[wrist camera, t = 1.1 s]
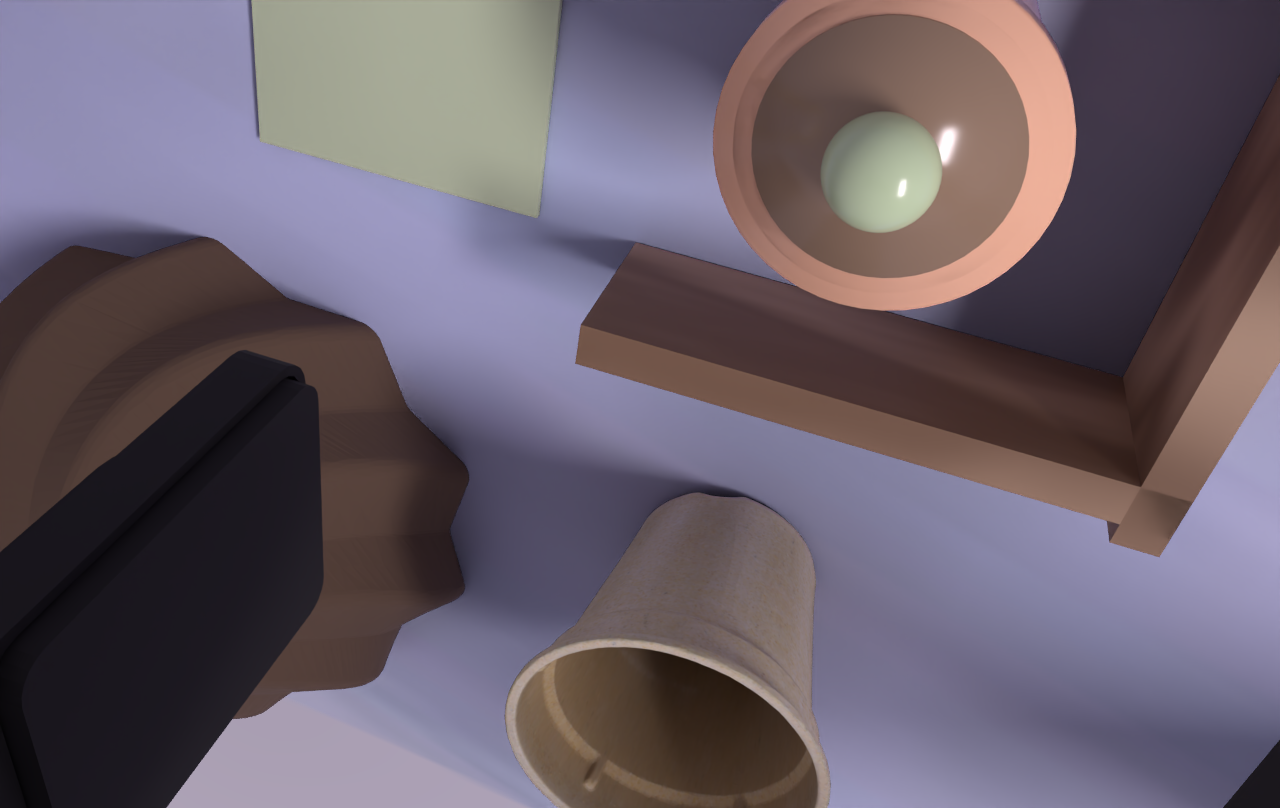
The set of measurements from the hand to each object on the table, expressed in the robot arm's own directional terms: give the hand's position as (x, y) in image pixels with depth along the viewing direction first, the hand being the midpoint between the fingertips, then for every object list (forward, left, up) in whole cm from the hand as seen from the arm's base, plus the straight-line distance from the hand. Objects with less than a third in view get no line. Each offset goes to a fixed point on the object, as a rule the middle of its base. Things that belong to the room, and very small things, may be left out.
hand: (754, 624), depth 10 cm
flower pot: (-18, +1, -20) cm, 27 cm away
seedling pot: (0, 0, -20) cm, 20 cm away
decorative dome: (-21, +20, -20) cm, 36 cm away
